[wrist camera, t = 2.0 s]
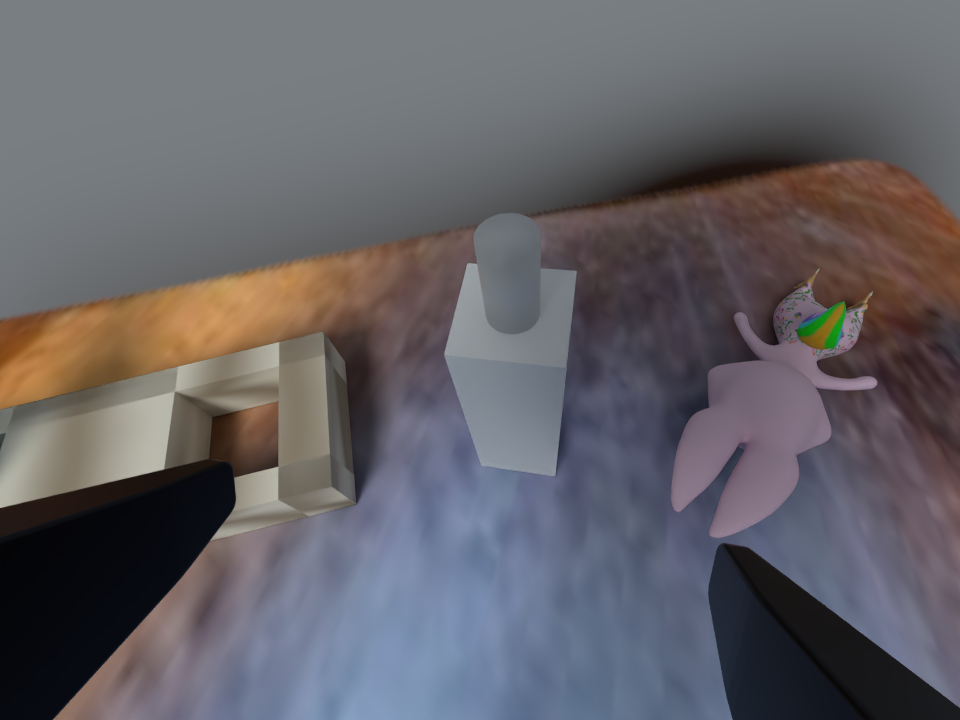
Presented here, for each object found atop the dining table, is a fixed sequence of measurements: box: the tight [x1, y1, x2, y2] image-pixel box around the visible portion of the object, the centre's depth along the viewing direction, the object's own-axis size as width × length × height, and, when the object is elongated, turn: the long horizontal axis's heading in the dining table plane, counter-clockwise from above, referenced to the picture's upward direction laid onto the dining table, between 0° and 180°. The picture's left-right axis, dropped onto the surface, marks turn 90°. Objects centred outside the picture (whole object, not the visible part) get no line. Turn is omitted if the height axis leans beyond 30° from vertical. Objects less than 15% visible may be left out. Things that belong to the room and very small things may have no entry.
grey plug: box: [444, 213, 577, 477], centre depth 17 cm, size 3×3×13 cm
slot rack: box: [0, 332, 356, 541], centre depth 22 cm, size 22×8×3 cm, turn 102°
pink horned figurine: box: [671, 269, 877, 538], centre depth 20 cm, size 6×6×15 cm
